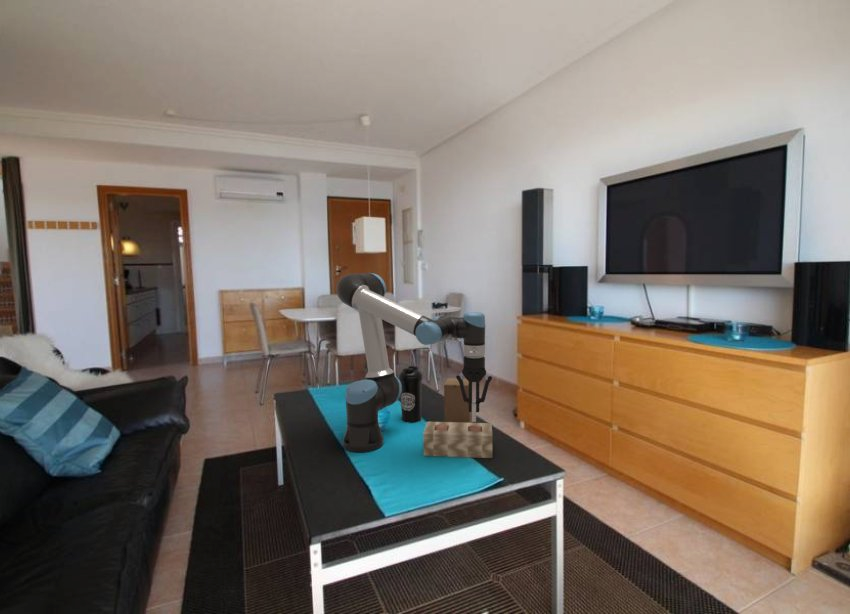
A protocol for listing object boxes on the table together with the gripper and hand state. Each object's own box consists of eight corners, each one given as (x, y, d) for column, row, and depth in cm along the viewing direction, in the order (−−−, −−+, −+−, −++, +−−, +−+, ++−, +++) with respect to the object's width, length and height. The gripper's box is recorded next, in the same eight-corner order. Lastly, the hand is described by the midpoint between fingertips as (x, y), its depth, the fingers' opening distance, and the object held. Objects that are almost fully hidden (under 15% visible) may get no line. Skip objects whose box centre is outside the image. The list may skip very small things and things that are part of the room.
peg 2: (469, 450, 156) (469, 428, 155) (469, 445, 160) (469, 424, 159) (480, 450, 156) (480, 429, 155) (480, 446, 160) (480, 424, 159)
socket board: (423, 455, 154) (423, 433, 154) (427, 442, 166) (427, 421, 165) (492, 458, 151) (492, 435, 150) (491, 444, 163) (491, 423, 162)
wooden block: (469, 434, 173) (469, 385, 171) (444, 433, 175) (443, 384, 173) (472, 425, 182) (471, 378, 181) (448, 424, 184) (447, 377, 183)
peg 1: (436, 449, 158) (435, 427, 157) (437, 444, 162) (436, 423, 161) (447, 449, 157) (446, 428, 156) (447, 445, 161) (447, 424, 160)
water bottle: (396, 421, 188) (394, 369, 186) (405, 414, 198) (404, 364, 196) (417, 424, 184) (416, 371, 182) (426, 416, 194) (425, 365, 192)
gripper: (455, 357, 152) (455, 423, 154) (493, 358, 150) (492, 425, 153) (456, 353, 159) (456, 416, 162) (492, 354, 158) (492, 417, 160)
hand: (473, 420), depth 157 cm, fingers closed
